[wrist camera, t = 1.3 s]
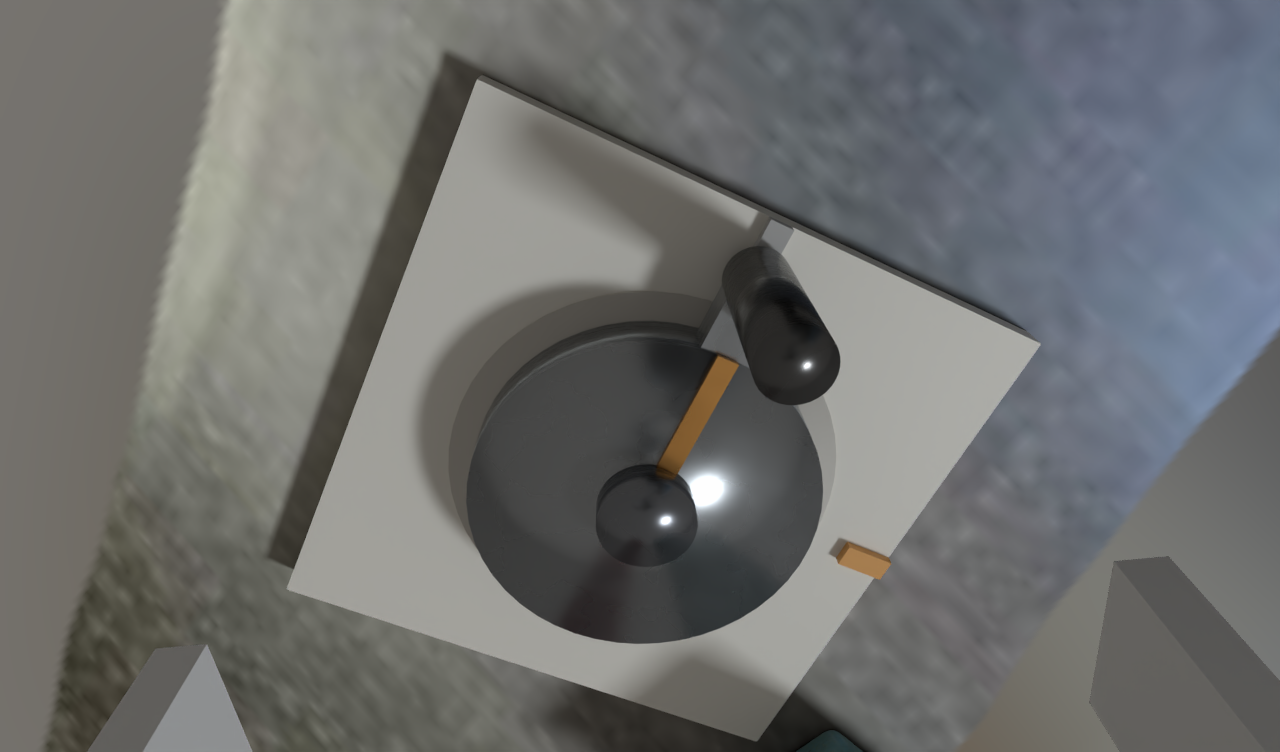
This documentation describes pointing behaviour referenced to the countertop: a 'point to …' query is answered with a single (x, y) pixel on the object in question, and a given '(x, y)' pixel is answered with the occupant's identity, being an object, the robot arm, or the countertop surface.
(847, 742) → the flower pot
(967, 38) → the countertop surface
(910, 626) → the countertop surface
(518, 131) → the panel
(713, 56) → the countertop surface
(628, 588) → the dial
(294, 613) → the countertop surface
